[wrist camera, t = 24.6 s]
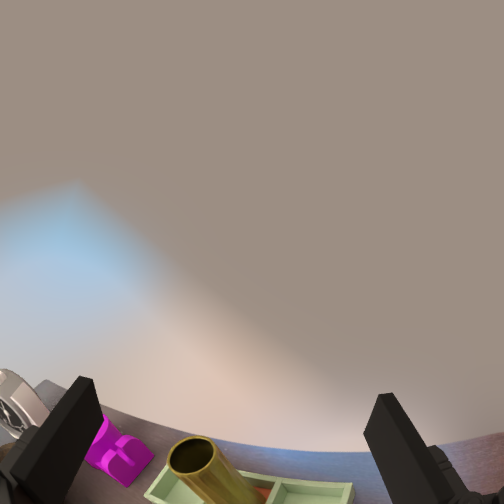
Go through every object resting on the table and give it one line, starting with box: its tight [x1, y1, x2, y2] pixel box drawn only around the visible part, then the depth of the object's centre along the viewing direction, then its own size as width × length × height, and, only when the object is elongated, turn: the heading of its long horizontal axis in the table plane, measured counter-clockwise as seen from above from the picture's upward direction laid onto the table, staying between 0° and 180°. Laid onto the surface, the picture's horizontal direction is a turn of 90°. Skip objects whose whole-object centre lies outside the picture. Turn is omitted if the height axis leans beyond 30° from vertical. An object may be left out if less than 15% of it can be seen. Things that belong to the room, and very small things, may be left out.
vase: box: [167, 435, 266, 504], centre depth 24 cm, size 6×6×14 cm
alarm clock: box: [0, 369, 50, 439], centre depth 43 cm, size 18×8×20 cm, turn 93°
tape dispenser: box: [84, 414, 155, 487], centre depth 39 cm, size 16×10×6 cm, turn 63°
